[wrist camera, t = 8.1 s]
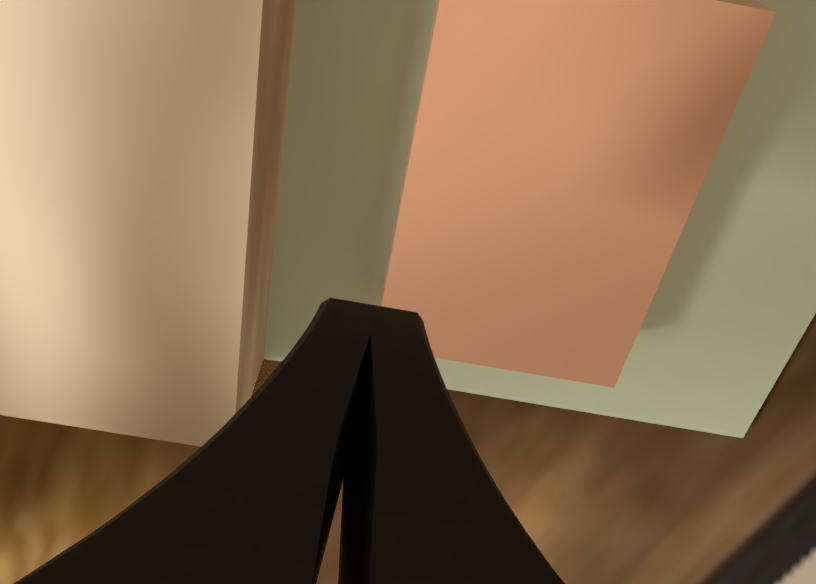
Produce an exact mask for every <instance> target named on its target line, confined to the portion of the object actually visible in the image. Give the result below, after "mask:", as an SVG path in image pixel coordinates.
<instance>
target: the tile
mask: <svg viewBox="0 0 816 584" xmlns="http://www.w3.org/2000/svg"><path fill="white" fill-rule="evenodd" d="M775 13H776V12H775V11H773V10H771V9H770V8H768V7H767V6H765V5H763V4H762V3H760V2H759V1H757V0H437V1H436V6H435V11H434V16H433V22H432V27H431V32H430V38H429V43H428V48H427V54H426V59H425V64H424V70H423V75H422V80H421V86H420V91H419V96H418V101H417V107H416V112H415V117H414V123H413V128H412V133H411V139H410V144H409V149H408V155H407V160H406V165H405V170H404V176H403V181H402V186H401V192H400V197H399V202H398V208H397V213H396V218H395V224H394V229H393V234H392V240H391V245H390V250H389V255H388V261H387V266H386V271H385V277H384V282H383V287H382V293H381V298H380V304H379V306H383V307H389V308H395V309H400V310H406V311H412V312H417V313H418V314H419V316H420V317H421V318H422V320H423V322H424V326H425V330H426V334H427V337H428V340H429V344H430V347H431V349H432V352H433V355H434V358H440V359H446V360H452V361H458V362H464V363H470V364H476V365H482V366H488V367H494V368H500V369H506V370H512V371H518V372H524V373H530V374H536V375H541V376H547V377H553V378H559V379H565V380H571V381H577V382H583V383H589V384H595V385H601V386H607V387H613V388H614V387H615V385H616V383H617V381H618V378H619V376H620V374H621V371H622V369H623V367H624V364H625V362H626V360H627V357H628V355H629V353H630V350H631V348H632V346H633V343H634V341H635V339H636V336H637V334H638V332H639V329H640V327H641V325H642V322H643V320H644V318H645V315H646V313H647V311H648V309H649V306H650V304H651V302H652V299H653V297H654V295H655V292H656V290H657V288H658V285H659V283H660V281H661V278H662V276H663V274H664V271H665V269H666V267H667V264H668V262H669V260H670V257H671V255H672V253H673V250H674V248H675V246H676V243H677V241H678V239H679V236H680V234H681V232H682V230H683V227H684V225H685V223H686V220H687V218H688V216H689V213H690V211H691V209H692V206H693V204H694V202H695V199H696V197H697V195H698V192H699V190H700V188H701V185H702V183H703V181H704V178H705V176H706V174H707V171H708V169H709V167H710V164H711V162H712V160H713V158H714V155H715V153H716V151H717V148H718V146H719V144H720V141H721V139H722V137H723V134H724V132H725V130H726V127H727V125H728V123H729V120H730V118H731V116H732V113H733V111H734V109H735V106H736V104H737V102H738V99H739V97H740V95H741V92H742V90H743V88H744V86H745V83H746V81H747V79H748V76H749V74H750V72H751V69H752V67H753V65H754V62H755V60H756V58H757V55H758V53H759V51H760V48H761V46H762V44H763V41H764V39H765V37H766V34H767V32H768V30H769V27H770V25H771V23H772V20H773V18H774V16H775Z"/></svg>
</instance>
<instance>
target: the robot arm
mask: <svg viewBox="0 0 816 584" xmlns="http://www.w3.org/2000/svg"><path fill="white" fill-rule="evenodd" d="M343 477H344V478H343ZM342 481H343V496H342V516H341V537H340V558H339V579H338V584H565V583H564V582H563V581H562V580H561V578H560V577H559V576H558V575H557V573H556V572H555V571H554V570H553V568H552V567H551V566H550V564H549V563H548V561H547V560H546V559H545V557H544V556H543V555H542V553H541V552H540V550H539V549H538V548H537V546H536V545H535V543H534V542H533V541H532V539H531V538H530V536H529V535H528V534H527V532H526V531H525V529H524V528H523V526H522V525H521V523H520V522H519V520H518V519H517V517H516V516H515V514H514V513H513V511H512V510H511V508H510V507H509V505H508V504H507V502H506V500H505V499H504V497H503V496H502V494H501V492H500V491H499V489H498V487H497V486H496V484H495V482H494V481H493V479H492V477H491V476H490V474H489V472H488V470H487V469H486V467H485V465H484V463H483V461H482V459H481V458H480V456H479V454H478V452H477V450H476V449H475V447H474V445H473V443H472V441H471V439H470V437H469V435H468V433H467V431H466V429H465V427H464V425H463V423H462V421H461V419H460V417H459V415H458V412H457V410H456V408H455V406H454V404H453V402H452V399H451V397H450V395H449V393H448V391H447V388H446V386H445V383H444V381H443V379H442V376H441V374H440V371H439V368H438V366H437V363H436V361H435V358H434V355H433V352H432V349H431V347H430V344H429V340H428V337H427V334H426V330H425V326H424V322H423V320H422V318H421V317H420V316H419V314H418V313H417V312H412V311H406V310H400V309H395V308H389V307H383V306H377V305H371V304H365V303H359V302H353V301H347V300H341V299H336V298H329V299H327V300H325V301H324V302H322V303H321V304H320V306H319V308H318V310H317V312H316V314H315V316H314V317H313V319H312V321H311V323H310V324H309V326H308V327H307V329H306V330H305V332H304V333H303V335H302V336H301V337H300V339H299V340H298V341H297V343H296V344H295V346H294V347H293V348H292V350H291V351H290V352H289V353H288V355H287V356H286V357H285V358H284V360H283V361H282V362H281V363H280V364H279V366H278V367H277V368H276V369H275V370H274V372H273V373H272V374H271V375H270V377H269V378H268V379H267V380H266V381H265V383H264V384H263V385H262V386H261V387H260V388H259V389H258V390H257V392H256V393H255V394H254V395H253V396H252V397H251V398H250V399H249V400H248V401H247V402H246V403H245V404H244V405H243V406H242V407H241V408H240V409H239V410H238V411H237V412H236V413H235V414H234V416H233V417H232V418H231V419H230V420H229V421H228V422H227V423H226V424H225V425H224V426H223V427H222V428H221V429H220V430H219V431H218V432H217V433H216V434H214V435H213V436H212V437H211V438H210V439H209V440H208V441H207V442H206V443H205V444H204V445H203V446H202V447H200V448H199V449H198V450H197V451H196V452H195V453H194V454H193V455H192V456H190V457H189V458H188V459H187V460H186V461H185V462H183V463H182V464H181V465H180V466H179V467H178V468H176V469H175V470H174V471H173V472H172V473H171V474H169V475H168V476H167V477H166V478H164V479H163V480H162V481H161V482H159V483H158V484H157V485H155V486H154V487H153V488H152V489H150V490H149V491H148V492H146V493H145V494H144V495H143V496H141V497H140V498H139V499H137V500H136V501H135V502H134V503H132V504H131V505H130V506H128V507H127V508H126V509H125V510H123V511H122V512H120V513H119V514H118V515H116V516H115V517H114V518H112V519H111V520H109V521H108V522H107V523H105V524H104V525H102V526H101V527H100V528H98V529H97V530H95V531H94V532H92V533H91V534H89V535H88V536H86V537H85V538H83V539H82V540H80V541H79V542H77V543H76V544H74V545H72V546H71V547H69V548H68V549H66V550H65V551H63V552H62V553H60V554H59V555H57V556H56V557H54V558H53V559H51V560H49V561H48V562H46V563H45V564H43V565H42V566H40V567H39V568H37V569H36V570H34V571H33V572H31V573H30V574H28V575H26V576H25V577H23V578H22V579H20V580H19V581H17V582H15V583H14V584H316V582H317V578H318V574H319V570H320V566H321V563H322V559H323V555H324V551H325V547H326V543H327V539H328V536H329V532H330V528H331V524H332V520H333V516H334V512H335V509H336V505H337V501H338V497H339V493H340V489H341V485H342Z"/></svg>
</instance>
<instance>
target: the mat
mask: <svg viewBox="0 0 816 584" xmlns="http://www.w3.org/2000/svg"><path fill="white" fill-rule="evenodd" d="M436 1H437V0H296V6H295V18H294V29H293V40H292V51H291V62H290V73H289V84H288V95H287V107H286V118H285V129H284V140H283V151H282V162H281V173H280V185H279V196H278V207H277V218H276V229H275V240H274V251H273V263H272V274H271V285H270V296H269V307H268V318H267V329H266V340H265V352H264V359H268V360H274V361H280V362H282V361H283V360H284V358H285V357H286V356H287V355H288V353H289V352H290V351H291V350H292V348H293V347H294V346H295V344H296V343H297V341H298V340H299V339H300V337H301V336H302V335H303V333H304V332H305V330H306V329H307V327H308V326H309V324H310V323H311V321H312V319H313V317H314V316H315V314H316V312H317V310H318V308H319V306H320V304H321V303H322V302H324V301H325V300H327V299H329V298H336V299H341V300H347V301H353V302H359V303H365V304H371V305H377V306H379V304H380V298H381V293H382V287H383V282H384V277H385V271H386V266H387V261H388V255H389V250H390V245H391V240H392V234H393V229H394V224H395V218H396V213H397V208H398V202H399V197H400V192H401V186H402V181H403V176H404V170H405V165H406V160H407V155H408V149H409V144H410V139H411V133H412V128H413V123H414V117H415V112H416V107H417V101H418V96H419V91H420V86H421V80H422V75H423V70H424V64H425V59H426V54H427V48H428V43H429V38H430V32H431V27H432V22H433V16H434V11H435V6H436ZM757 1H759V2H760V3H762V4H763V5H765V6H767V7H768V8H770V9H771V10H773V11H775V12H776V13H775V16H774V18H773V20H772V23H771V25H770V27H769V30H768V32H767V34H766V37H765V39H764V41H763V44H762V46H761V48H760V51H759V53H758V55H757V58H756V60H755V62H754V65H753V67H752V69H751V72H750V74H749V76H748V79H747V81H746V83H745V86H744V88H743V90H742V92H741V95H740V97H739V99H738V102H737V104H736V106H735V109H734V111H733V113H732V116H731V118H730V120H729V123H728V125H727V127H726V130H725V132H724V134H723V137H722V139H721V141H720V144H719V146H718V148H717V151H716V153H715V155H714V158H713V160H712V162H711V164H710V167H709V169H708V171H707V174H706V176H705V178H704V181H703V183H702V185H701V188H700V190H699V192H698V195H697V197H696V199H695V202H694V204H693V206H692V209H691V211H690V213H689V216H688V218H687V220H686V223H685V225H684V227H683V230H682V232H681V234H680V236H679V239H678V241H677V243H676V246H675V248H674V250H673V253H672V255H671V257H670V260H669V262H668V264H667V267H666V269H665V271H664V274H663V276H662V278H661V281H660V283H659V285H658V288H657V290H656V292H655V295H654V297H653V299H652V302H651V304H650V306H649V309H648V311H647V313H646V315H645V318H644V320H643V322H642V325H641V327H640V329H639V332H638V334H637V336H636V339H635V341H634V343H633V346H632V348H631V350H630V353H629V355H628V357H627V360H626V362H625V364H624V367H623V369H622V371H621V374H620V376H619V378H618V381H617V383H616V385H615V387H614V388H613V387H607V386H601V385H595V384H589V383H583V382H577V381H571V380H565V379H559V378H553V377H547V376H541V375H536V374H530V373H524V372H518V371H512V370H506V369H500V368H494V367H488V366H482V365H476V364H470V363H464V362H458V361H452V360H446V359H440V358H435V361H436V363H437V366H438V368H439V371H440V374H441V376H442V379H443V381H444V383H445V386H446V388H447V389H449V390H455V391H461V392H467V393H473V394H479V395H485V396H491V397H497V398H503V399H509V400H515V401H522V402H528V403H534V404H540V405H546V406H552V407H558V408H564V409H570V410H576V411H582V412H588V413H594V414H600V415H606V416H612V417H618V418H624V419H630V420H636V421H642V422H648V423H654V424H660V425H666V426H672V427H678V428H684V429H690V430H696V431H702V432H708V433H714V434H720V435H726V436H732V437H739V438H743V437H744V435H745V433H746V432H747V430H748V428H749V427H750V425H751V423H752V421H753V420H754V418H755V416H756V415H757V413H758V411H759V409H760V408H761V406H762V404H763V403H764V401H765V399H766V397H767V396H768V394H769V392H770V391H771V389H772V387H773V385H774V384H775V382H776V380H777V379H778V377H779V375H780V373H781V372H782V370H783V368H784V367H785V365H786V363H787V361H788V360H789V358H790V356H791V355H792V353H793V351H794V349H795V348H796V346H797V344H798V343H799V341H800V339H801V337H802V336H803V334H804V332H805V331H806V329H807V327H808V325H809V324H810V322H811V320H812V319H813V317H814V315H815V313H816V0H757Z"/></svg>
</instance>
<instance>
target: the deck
mask: <svg viewBox="0 0 816 584" xmlns="http://www.w3.org/2000/svg"><path fill="white" fill-rule="evenodd" d="M295 6H296V0H0V415H4V416H10V417H17V418H23V419H29V420H36V421H42V422H48V423H55V424H61V425H67V426H74V427H80V428H86V429H92V430H99V431H105V432H111V433H118V434H124V435H130V436H137V437H143V438H149V439H156V440H162V441H168V442H175V443H181V444H187V445H194V446H200V447H202V446H203V445H204V444H205V443H206V442H207V441H208V440H209V439H210V438H211V437H212V436H213V435H214V434H216V433H217V432H218V431H219V430H220V429H221V428H222V427H223V426H224V425H225V424H226V423H227V422H228V421H229V420H230V419H231V418H232V417H233V416H234V414H235V413H236V412H237V411H238V410H239V409H240V408H241V407H242V406H243V405H244V404H245V403H246V402H247V401H248V400H249V399H250V398H251V396H252V393H253V390H254V387H255V384H256V381H257V378H258V375H259V372H260V369H261V366H262V363H263V360H264V352H265V340H266V329H267V318H268V307H269V296H270V285H271V274H272V263H273V251H274V240H275V229H276V218H277V207H278V196H279V185H280V173H281V162H282V151H283V140H284V129H285V118H286V107H287V95H288V84H289V73H290V62H291V51H292V40H293V29H294V18H295Z"/></svg>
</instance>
